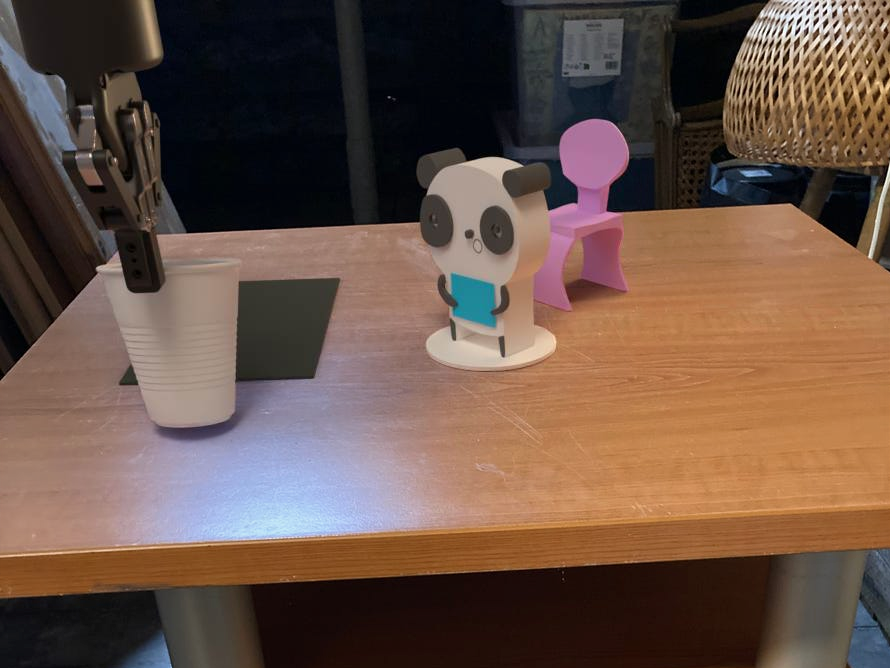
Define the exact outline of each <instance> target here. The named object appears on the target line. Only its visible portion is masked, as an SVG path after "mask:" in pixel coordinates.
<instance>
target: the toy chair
mask: <svg viewBox="0 0 890 668" xmlns="http://www.w3.org/2000/svg"><path fill="white" fill-rule="evenodd" d="M560 137H561V138H560V140H559V149H558V150H559V159H560V164H561V168H562V174H563V175H564V176H565V177H566V178H567V179H568V180H569V181H570V182H571V183H573V184H574V185H575V186H576V187H577V203H575V202H572V203H568V204H565V205H562V206H559V207H556V208H554V209H550V210H548V213H549V220H550V245H549V250H548V253H547V257H546V259H545V261H544V263H543V265H542V267H541V268H540V269H539V271H538V272H536V273H535V274H534V301H536V302H540V303H543V304H546V305H548V306H551V307H555V308H558V309H561V310H564V311H567V312H572V311H573V307H572V306H571V303H570V301H569V297H568V295H567V293H566V289H565V285H564V277H563V276H564V268H565V265H566V262H567V260H568V257H569V256H570V254H571V252H572V249H573V247H574V245H575V243H576V242H578V240H581V245H582V250H583V253H582V254H583V256H582V257H583V258H582V265H581V271H580V279H582V280H585V281H589V282H592V283H596V284H598V285H603V286H605V287H608V288H612V289H615V290H619V291H622V292H629V291H630V289H629V286H628V283H627V281H626V278H625V275H624V272H623V268H622V264H621V249H622V248H621V247H622V243H623V239H624V236H625V235H624V234H625V228H624V225H623V218H624V217H623V214H621V213H617V212H612V211H607V207H608V200H609V193H610V186H611V185H612V184H613V183H614V181H615V180H617V179H619V178H620V177H621V176H622V175H623V174H624V172H625V171H626V170H627V167H628V166H629V161H630V151H629V147H628V144H627V141H626V139H625V136H624V135H623V134H622V132H621V131H620V130H619V128H618V127H617V125H616V124H614V123H613V122H612V121H609V120H606V119H601V118H592V119H586V120H582V121H580V122H578V123H575V124H574V125H572V126H570V127H569V128H567V129H566V131H564V132H563V134H562V136H560Z"/></svg>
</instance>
